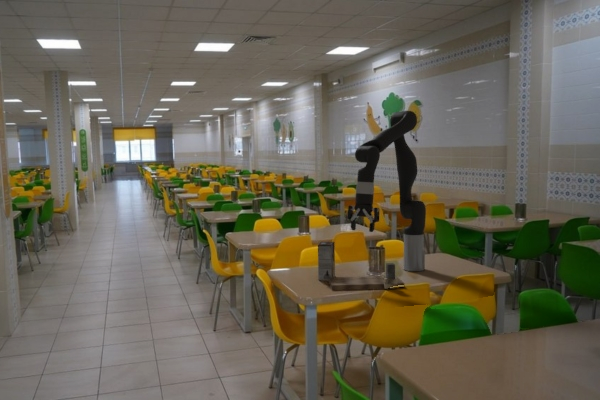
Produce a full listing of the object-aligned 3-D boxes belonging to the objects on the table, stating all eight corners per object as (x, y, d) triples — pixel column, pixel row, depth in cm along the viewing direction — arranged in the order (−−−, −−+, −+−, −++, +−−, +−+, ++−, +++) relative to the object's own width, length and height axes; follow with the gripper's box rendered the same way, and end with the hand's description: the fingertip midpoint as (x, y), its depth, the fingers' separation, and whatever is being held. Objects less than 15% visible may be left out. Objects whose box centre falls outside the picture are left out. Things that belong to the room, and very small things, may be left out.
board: (396, 280, 230) (396, 275, 230) (404, 288, 216) (404, 283, 216) (328, 282, 228) (328, 277, 228) (332, 290, 214) (331, 285, 214)
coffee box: (321, 275, 240) (320, 241, 239) (335, 276, 239) (334, 241, 238) (318, 280, 232) (317, 244, 230) (332, 281, 230) (332, 244, 229)
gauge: (390, 281, 226) (390, 258, 225) (397, 288, 213) (397, 264, 212) (378, 281, 226) (378, 258, 225) (385, 289, 213) (385, 264, 212)
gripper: (383, 194, 222) (381, 232, 222) (354, 192, 230) (352, 229, 230) (375, 193, 215) (372, 232, 216) (345, 191, 224) (343, 229, 224)
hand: (362, 230), depth 223 cm, fingers open, 8 cm apart
